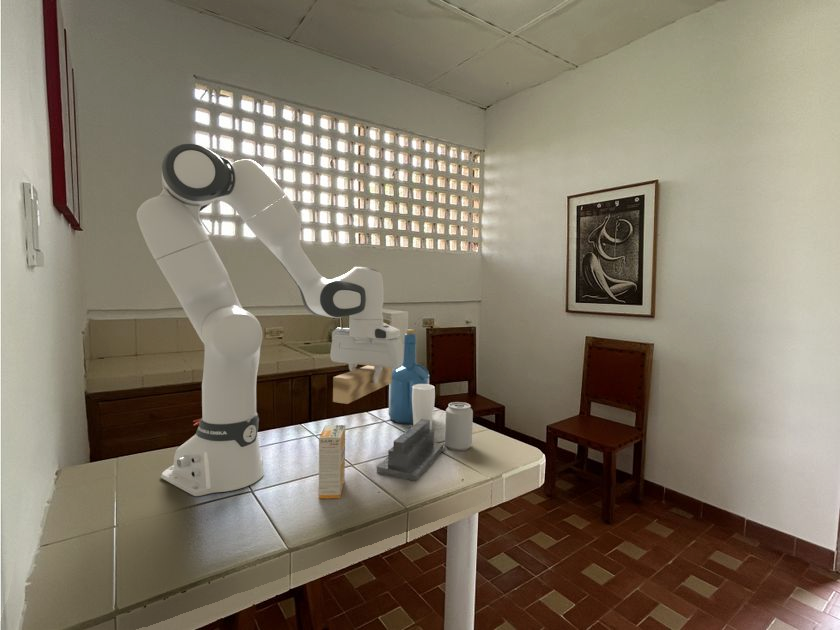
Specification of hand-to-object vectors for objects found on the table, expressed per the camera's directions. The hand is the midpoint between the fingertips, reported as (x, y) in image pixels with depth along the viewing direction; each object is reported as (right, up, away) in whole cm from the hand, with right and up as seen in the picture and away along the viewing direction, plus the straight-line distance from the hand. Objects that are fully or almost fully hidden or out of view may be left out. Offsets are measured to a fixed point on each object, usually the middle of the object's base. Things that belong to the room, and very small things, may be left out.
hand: (365, 381), depth 109 cm
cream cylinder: (+15, -19, +13) cm, 28 cm away
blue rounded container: (+11, -17, +29) cm, 36 cm away
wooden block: (0, -3, 0) cm, 3 cm away
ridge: (+13, -20, -4) cm, 24 cm away
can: (+25, -19, +6) cm, 32 cm away
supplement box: (-5, -21, -19) cm, 29 cm away
